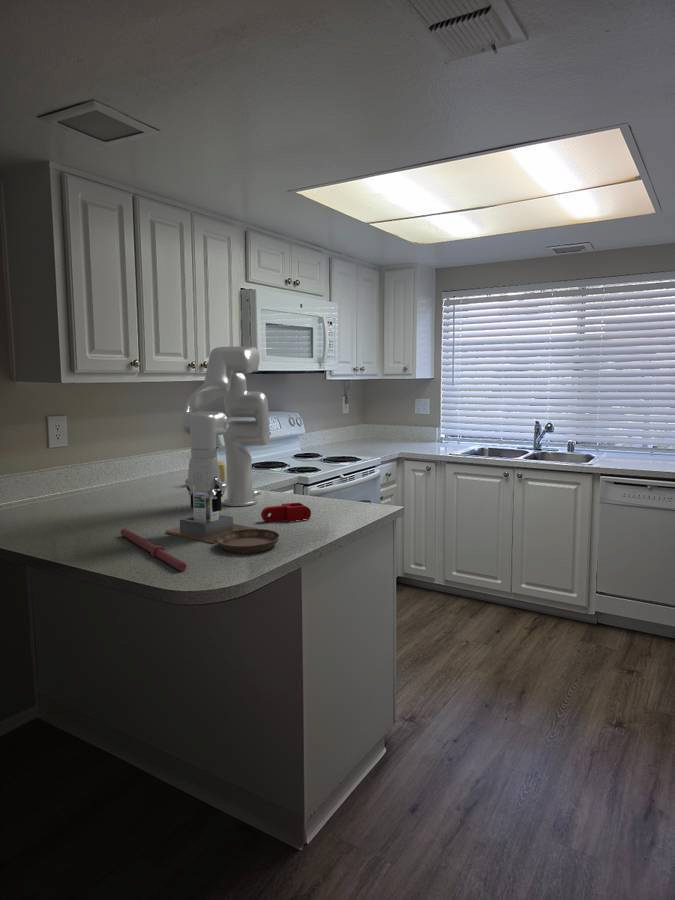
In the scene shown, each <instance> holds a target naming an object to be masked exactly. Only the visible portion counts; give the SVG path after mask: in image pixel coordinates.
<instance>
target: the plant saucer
mask: <svg viewBox="0 0 675 900" xmlns="http://www.w3.org/2000/svg"><path fill="white" fill-rule="evenodd" d="M280 537H281V536H280V533H279V532H277V531H274V530H271V529H264V528H258V529H244V530H236V531H232V532H228V533H225V534H222V535H220V536H219V537H218V538H217V541H218V544H219V545H220V547H222V548H223V549H224V550H225V551H226V552H230V553H235V552H236V554H249V553H251V554H252V552H253V553H260V552H264V551H268V550H270V549H271V548H273V547H274V546H275V545H276V544H277V542H278V541H279V539H280ZM267 549H268V550H267ZM259 551H260V552H259Z"/></svg>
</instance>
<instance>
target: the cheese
mask: <svg viewBox="0 0 675 900" xmlns="http://www.w3.org/2000/svg"><path fill="white" fill-rule="evenodd" d="M218 465H219V472H220V480H221V481H222V482H223V483H224V484H225V485H226V461H218Z"/></svg>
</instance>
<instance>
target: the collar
mask: <svg viewBox="0 0 675 900" xmlns="http://www.w3.org/2000/svg"><path fill="white" fill-rule="evenodd" d="M244 529H259V528H258V527H253V526H248V525H247V526H246V525H242V524H237V523H234V516H231V515H224V514H219V519H218V520H214V521H210V522H207V523H203V522H198V521H194V515H192V516H186V517H185V518H184V517H183V518H179V527H175V528H171V529H167V530H165V534H168V535H174V536H178V537H181V538H187V539H191V540H195V541H200V542H205V543H209V544H217V543H218V544H219V542H218V541H217V538H218V537H219V536H220V535H222V534H225V533H228V532H232V531H236V530H244Z"/></svg>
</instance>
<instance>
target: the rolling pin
mask: <svg viewBox="0 0 675 900" xmlns="http://www.w3.org/2000/svg"><path fill="white" fill-rule="evenodd" d="M120 535H121V536H122V537H125V538H126V539H127V540H129V541H131V542H132V543H134V544H135V545H137V546H138V547H141V548H142V549H143V550H145V551H147V552H149V553H150V555H151V556H152V557H153V558H156V559H160V560H161V561H162V562H165V563H167V564H168V565H170V566H171V567H173V568H174V569H176V570H178V571H180V572H184V571H185V570H186V569H187V563H186V562H184V561H182V560H181V559H179V558H177V557H176V556H174V555H172V554H171V553H169V552H167V551H165V549H164V548H163V547H162V546H160V545H159V544H158V545H155V544H153V543H152V542H149V540H147V539H145V538H143V537H141V536H139V535H138V534H136V533H134V532H132V531H131V530H129V529H127V528H126V527H125V528H122V529H121V530H120Z"/></svg>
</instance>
